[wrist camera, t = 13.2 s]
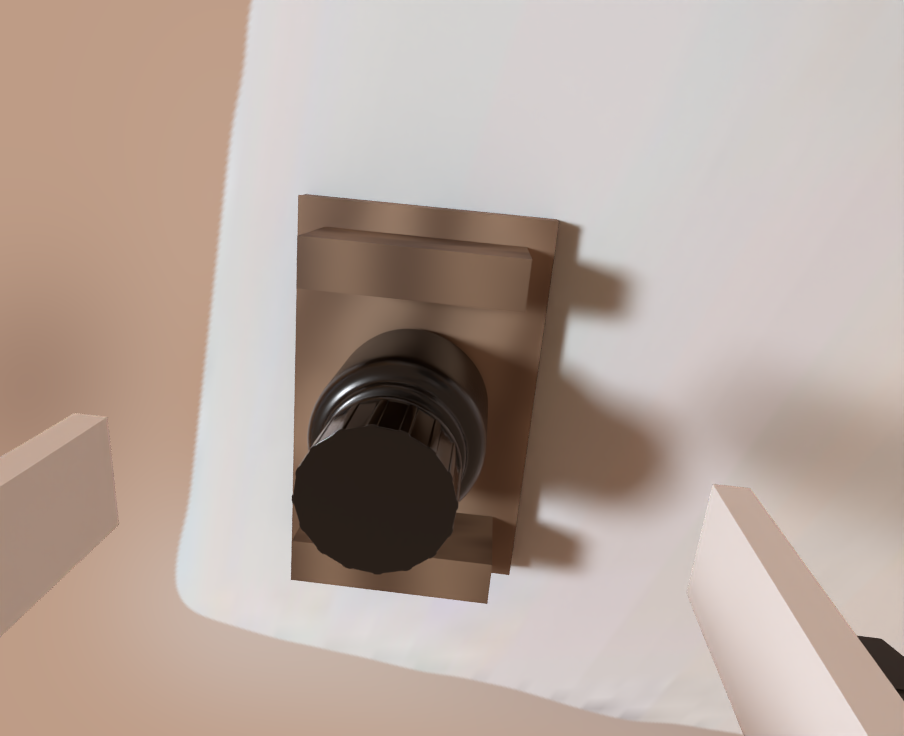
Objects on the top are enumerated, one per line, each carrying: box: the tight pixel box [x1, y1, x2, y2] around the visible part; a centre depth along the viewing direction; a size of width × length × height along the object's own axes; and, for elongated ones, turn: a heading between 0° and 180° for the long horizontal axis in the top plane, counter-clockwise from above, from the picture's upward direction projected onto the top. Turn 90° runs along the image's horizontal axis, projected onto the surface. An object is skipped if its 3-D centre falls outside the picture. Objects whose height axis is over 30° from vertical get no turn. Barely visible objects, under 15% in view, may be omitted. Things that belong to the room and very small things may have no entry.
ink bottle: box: [292, 329, 488, 575], centre depth 31 cm, size 10×9×12 cm
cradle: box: [291, 194, 559, 604], centre depth 35 cm, size 14×22×6 cm, turn 175°
